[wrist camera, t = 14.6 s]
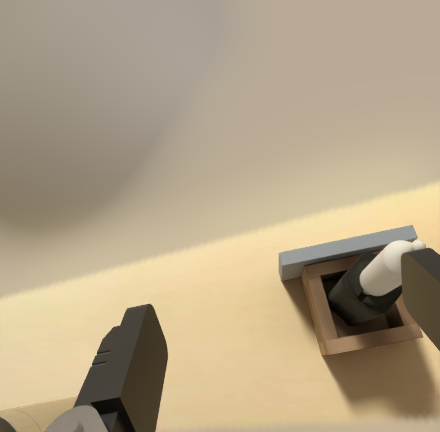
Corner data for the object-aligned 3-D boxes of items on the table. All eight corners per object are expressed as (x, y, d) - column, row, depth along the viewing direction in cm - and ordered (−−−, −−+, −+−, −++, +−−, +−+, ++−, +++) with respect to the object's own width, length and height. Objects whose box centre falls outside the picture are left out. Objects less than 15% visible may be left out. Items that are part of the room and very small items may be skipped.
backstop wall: (281, 281, 50) (282, 265, 41) (278, 270, 50) (278, 252, 42) (393, 258, 48) (417, 237, 40) (389, 247, 49) (412, 224, 41)
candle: (377, 300, 45) (480, 241, 22) (353, 330, 44) (435, 299, 21) (344, 274, 47) (408, 195, 24) (321, 303, 46) (364, 247, 23)
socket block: (321, 355, 45) (329, 354, 39) (300, 278, 49) (304, 265, 43) (402, 340, 44) (423, 337, 38) (374, 263, 49) (388, 248, 42)
